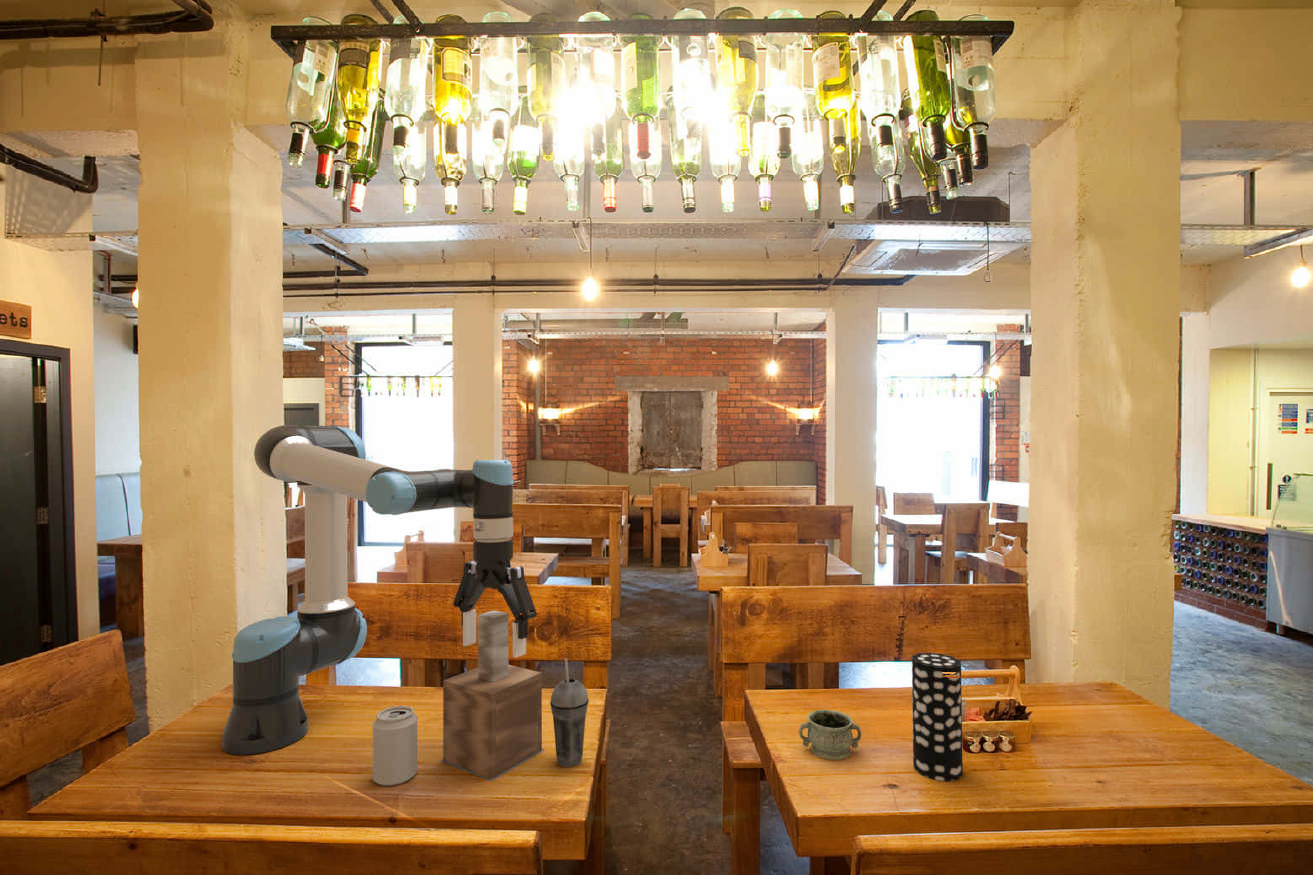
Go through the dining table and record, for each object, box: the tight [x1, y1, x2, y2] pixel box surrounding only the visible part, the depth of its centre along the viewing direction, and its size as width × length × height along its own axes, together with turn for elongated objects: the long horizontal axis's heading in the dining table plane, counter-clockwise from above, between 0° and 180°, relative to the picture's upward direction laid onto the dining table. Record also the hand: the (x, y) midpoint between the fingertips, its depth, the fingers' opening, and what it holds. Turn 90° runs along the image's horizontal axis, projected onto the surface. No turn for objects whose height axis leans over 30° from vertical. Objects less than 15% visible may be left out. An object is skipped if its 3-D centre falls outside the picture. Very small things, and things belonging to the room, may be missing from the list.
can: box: [372, 705, 418, 787], centre depth 115 cm, size 8×8×12 cm
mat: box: [439, 748, 546, 782], centre depth 123 cm, size 14×14×1 cm
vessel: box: [798, 709, 862, 761], centre depth 125 cm, size 12×9×6 cm
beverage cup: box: [549, 657, 590, 768], centre depth 120 cm, size 7×7×20 cm
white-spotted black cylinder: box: [911, 652, 964, 782], centre depth 117 cm, size 8×8×20 cm
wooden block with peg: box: [442, 610, 543, 779], centre depth 123 cm, size 13×13×27 cm
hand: (493, 649), depth 123 cm, fingers open, 13 cm apart
